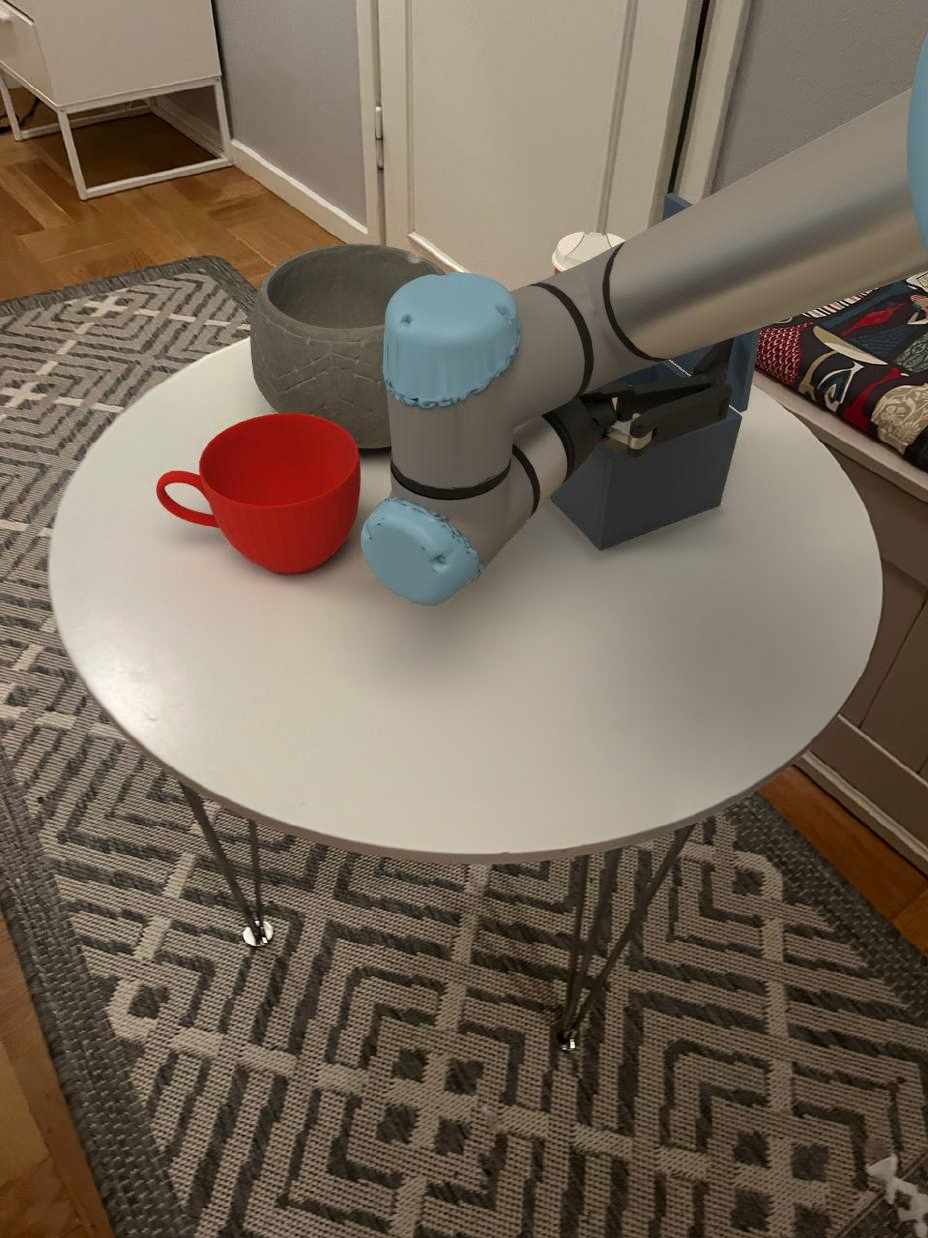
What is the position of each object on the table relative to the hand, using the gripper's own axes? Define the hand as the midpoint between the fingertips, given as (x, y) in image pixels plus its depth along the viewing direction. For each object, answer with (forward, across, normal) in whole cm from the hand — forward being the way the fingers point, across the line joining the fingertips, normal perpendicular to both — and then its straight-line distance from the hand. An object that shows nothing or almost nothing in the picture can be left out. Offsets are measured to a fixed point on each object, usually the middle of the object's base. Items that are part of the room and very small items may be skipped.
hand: (652, 325), depth 81 cm
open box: (-2, 0, -16) cm, 16 cm away
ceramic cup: (-27, -22, -16) cm, 38 cm away
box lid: (+3, +3, +2) cm, 4 cm away
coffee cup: (+12, -12, -16) cm, 24 cm away
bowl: (-7, -27, -16) cm, 32 cm away
